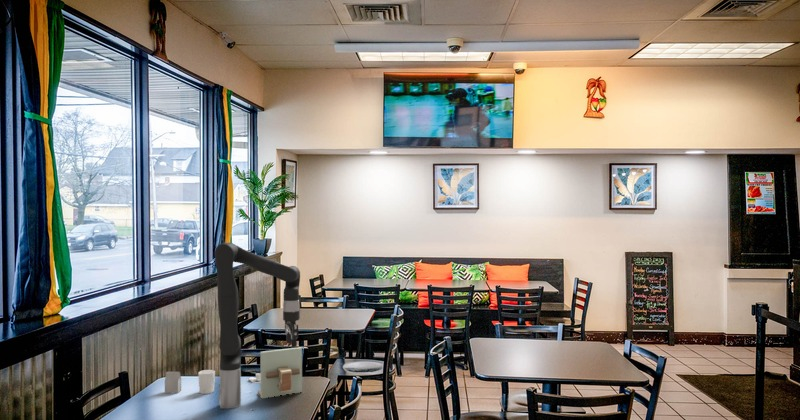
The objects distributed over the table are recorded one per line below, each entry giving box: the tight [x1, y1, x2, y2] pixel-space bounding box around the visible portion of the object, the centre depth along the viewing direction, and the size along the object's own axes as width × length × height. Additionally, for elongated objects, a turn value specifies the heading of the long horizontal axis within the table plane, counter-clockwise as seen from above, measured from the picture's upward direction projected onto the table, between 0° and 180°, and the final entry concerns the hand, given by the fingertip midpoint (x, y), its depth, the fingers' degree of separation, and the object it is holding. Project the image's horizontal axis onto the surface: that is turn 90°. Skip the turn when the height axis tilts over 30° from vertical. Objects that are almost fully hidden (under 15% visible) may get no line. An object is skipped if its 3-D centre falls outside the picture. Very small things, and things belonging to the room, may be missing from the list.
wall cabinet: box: [277, 366, 292, 393], centre depth 269 cm, size 9×5×10 cm, turn 27°
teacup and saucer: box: [248, 372, 261, 384], centre depth 298 cm, size 9×8×4 cm
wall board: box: [257, 346, 303, 399], centre depth 276 cm, size 11×20×22 cm, turn 117°
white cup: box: [198, 369, 216, 395], centre depth 279 cm, size 8×8×10 cm
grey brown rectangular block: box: [164, 371, 182, 394], centre depth 280 cm, size 4×7×10 cm, turn 87°
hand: (291, 344), depth 258 cm, fingers open, 8 cm apart
